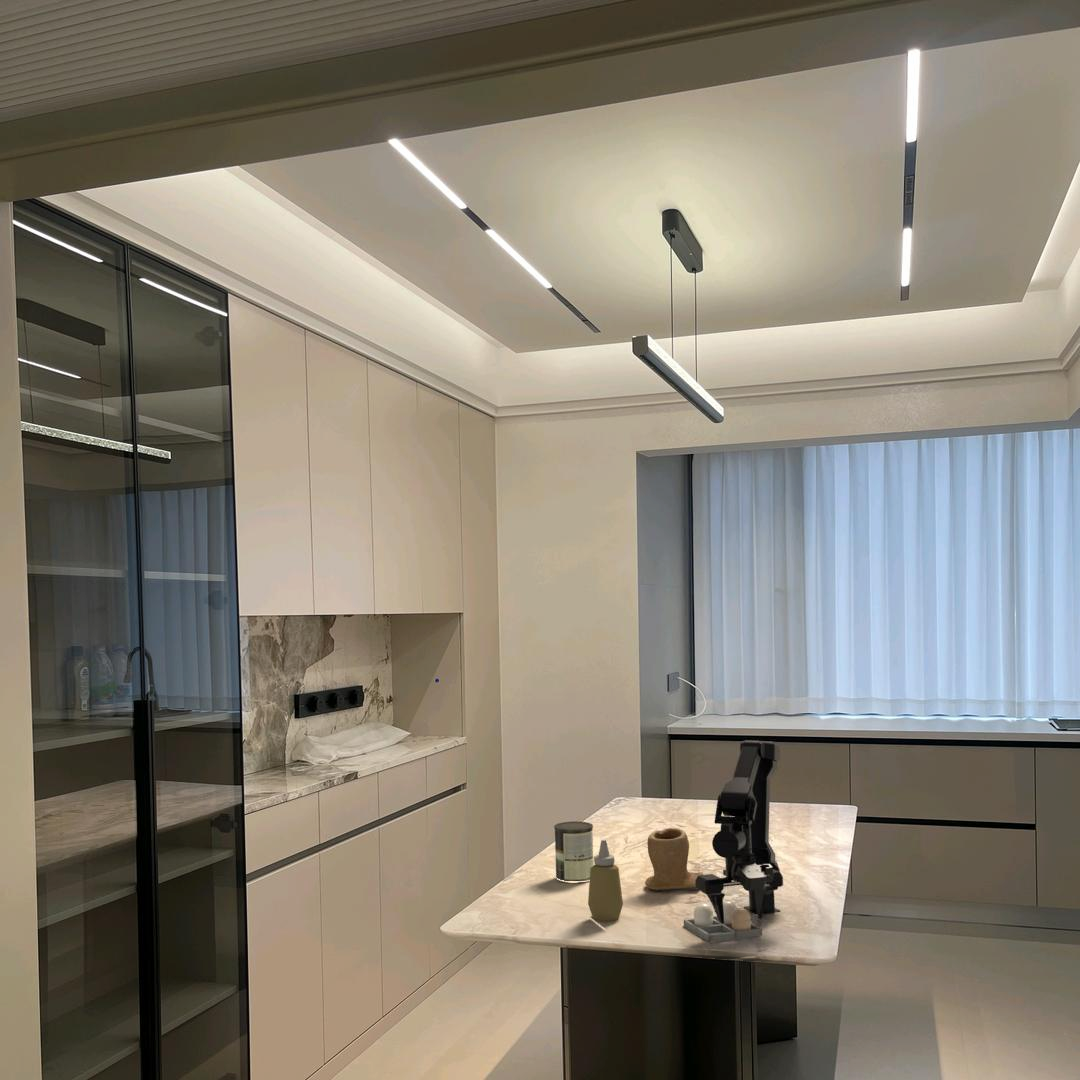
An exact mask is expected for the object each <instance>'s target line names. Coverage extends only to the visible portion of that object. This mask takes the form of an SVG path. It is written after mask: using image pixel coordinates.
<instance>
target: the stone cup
mask: <svg viewBox="0 0 1080 1080" xmlns="http://www.w3.org/2000/svg"><path fill="white" fill-rule="evenodd" d="M689 852H690V841H689V837H688V835H687V833H686V832H685V831H684V830H683V829H681V828H676V827H668V828H665V829H663V830H655V831H653V832H651V833H650V834H649V835H648V838H647V853H648V857H649V859H650V863H651V865H652V868H653V875H652V876H649V877H648V878H646V879H645V882H644V885H645V886H646V887H647V888H648V889H650V890H654V891H671V890H672V891H675V890H691V889H692V890H693V889H694V890H695V889H696V884H695V880H696V879H697V877H698V875H704V874H703V872H700V871H699V872H690V871H688V859H689V854H690V853H689Z"/></svg>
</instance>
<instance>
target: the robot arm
mask: <svg viewBox="0 0 1080 1080" xmlns="http://www.w3.org/2000/svg"><path fill="white" fill-rule="evenodd" d="M739 751H740V752H739V756H738V759H737V762H736V766H735V770H734V772H733V776H732V778H731V780H730V781H729V782H727V783H726V784H724V785H723V788H722V789H721V791H720V793H719V795H718V797H717V803H716V809H715V815H714V816H715V817H714V824H717V825H720V830H719V831H717V832H716V833H715V835H714V836H713V838H712V841H711V842H712V843H711V844H712V848H713V851H714V853H715V854H716V855H718V856H719V857H721V858H724V861H725V869H722V874H723V876H725V877H719V876H717V875H715V874H713V873H709V874H703V875H698V877H697V879H696V880H695V884H696V888H695V889H697V890H698V891H700V892H701V893H704V895H706V896H707V897H708V899H709V901H710V903H711V905H712V907H713V908H712V909H713V911H714V912H715V914H716V915H715V916H717V917H718V919H719V921H720V923H721V924H723V923H724V910H723V900H724V898H725V896H726V895H725V893H723V890H724V888H726V887H734V886H742V888H743V889H744V890H745V891H748V906H743V908H745V909H746V910H748V912H749V913H750V912H751V913H752V914H754V915H756V916H757V918H758V919H759V920H761V919H762V918H763V916H764V915H765V914H766V915H767V914H775V913H781V910H780V909H778V908H777V907H776V903H775V891H777V890H779V888H781V887H783V886H784V876H783V874H782V873H781V870H780V867H779V864H778V862H777V860H776V853H775V851H774V849H773V848H772V845H771V843H770V803H771V802H770V798H771V795H770V791H771V779H772V777H773V775H774V774H775V772H776V771H777V769H778V762H780V759H781V751H780V746H778V745H776V743H775V741H774V740H773V741H767V740H765V741H764V740H750V739H749V740H747V739H746V740H745V739H744V740H742V741H741V742H740V746H739Z"/></svg>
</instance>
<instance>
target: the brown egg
mask: <svg viewBox="0 0 1080 1080" xmlns="http://www.w3.org/2000/svg"><path fill="white" fill-rule="evenodd" d="M731 922H732V930H734V931H744V930H751V923H752V916H751V913H750V911H748V910H746V909H745V908H744V907H737V909H735V910H734V911H733V912H732V915H731Z"/></svg>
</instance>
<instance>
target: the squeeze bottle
mask: <svg viewBox="0 0 1080 1080" xmlns="http://www.w3.org/2000/svg"><path fill="white" fill-rule="evenodd" d="M588 884H589V886H588V898H587V905H588V907H589V911H590V914H591V917H592V918H593V921H594V920H595V922H603V923H604V922H614V921H617V920H619V918H620V915H621V912H622V908H623V905H624V900H623V894H622V885H621V877H620V869H619V866H617V865H616V864H615V856H614V855H612V854H610V850H609V847H608V842H607V840H606V839H601V840H600V846H599V850H598V854H596V855H595V856H593V866H592V867H591V868H590V882H588Z"/></svg>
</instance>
